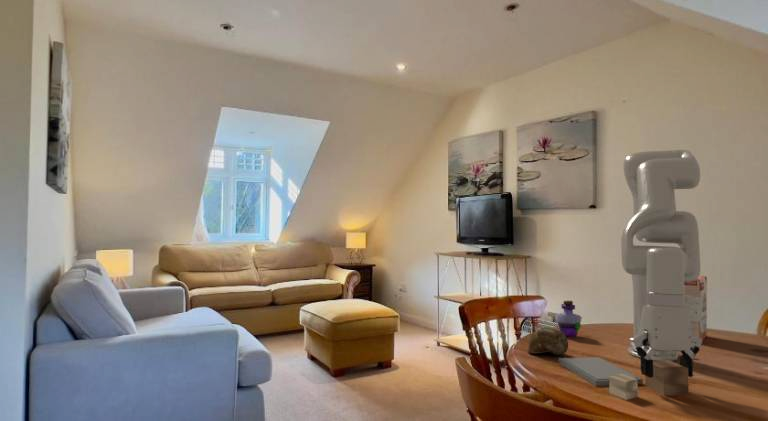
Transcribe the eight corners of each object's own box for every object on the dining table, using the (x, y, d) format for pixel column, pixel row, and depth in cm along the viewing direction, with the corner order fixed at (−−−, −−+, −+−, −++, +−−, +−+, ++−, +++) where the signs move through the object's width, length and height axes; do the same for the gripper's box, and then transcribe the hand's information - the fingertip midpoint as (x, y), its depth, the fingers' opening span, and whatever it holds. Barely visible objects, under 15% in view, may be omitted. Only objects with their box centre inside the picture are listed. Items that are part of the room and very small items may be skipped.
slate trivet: (599, 361, 126) (599, 356, 126) (642, 384, 108) (642, 378, 108) (558, 362, 124) (558, 357, 124) (595, 385, 106) (595, 380, 106)
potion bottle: (579, 340, 148) (579, 304, 148) (552, 336, 153) (552, 301, 153) (584, 335, 155) (583, 300, 156) (558, 331, 160) (557, 297, 160)
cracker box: (702, 344, 144) (701, 279, 145) (680, 340, 148) (679, 277, 149) (708, 336, 154) (707, 275, 155) (687, 333, 158) (686, 274, 159)
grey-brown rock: (571, 354, 133) (571, 326, 133) (563, 361, 125) (563, 333, 126) (533, 347, 140) (533, 321, 140) (523, 354, 132) (523, 327, 132)
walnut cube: (668, 385, 107) (668, 360, 107) (688, 394, 101) (688, 368, 101) (645, 386, 107) (645, 360, 107) (663, 396, 101) (663, 369, 101)
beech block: (621, 391, 103) (621, 373, 104) (637, 397, 100) (637, 379, 100) (609, 394, 102) (609, 376, 102) (625, 400, 98) (625, 381, 98)
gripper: (687, 298, 109) (688, 370, 108) (620, 298, 107) (621, 371, 106) (713, 303, 102) (714, 380, 101) (641, 303, 100) (642, 381, 99)
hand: (666, 375), depth 103 cm, fingers open, 9 cm apart
